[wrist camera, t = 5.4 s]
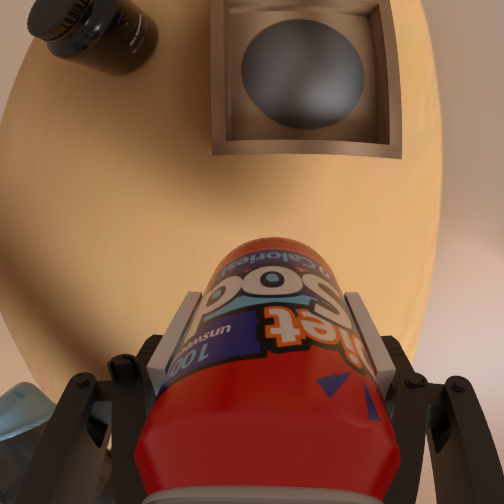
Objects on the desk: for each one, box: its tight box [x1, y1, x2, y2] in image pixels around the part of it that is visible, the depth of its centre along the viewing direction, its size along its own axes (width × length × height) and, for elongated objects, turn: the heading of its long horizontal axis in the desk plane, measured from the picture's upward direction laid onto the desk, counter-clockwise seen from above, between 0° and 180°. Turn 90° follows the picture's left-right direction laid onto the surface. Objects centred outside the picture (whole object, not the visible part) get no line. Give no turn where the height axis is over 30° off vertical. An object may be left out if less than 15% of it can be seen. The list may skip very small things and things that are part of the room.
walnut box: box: [210, 0, 402, 159], centre depth 20 cm, size 14×14×4 cm
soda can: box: [133, 237, 401, 504], centre depth 12 cm, size 8×8×15 cm
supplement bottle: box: [27, 0, 158, 75], centre depth 16 cm, size 7×7×12 cm
